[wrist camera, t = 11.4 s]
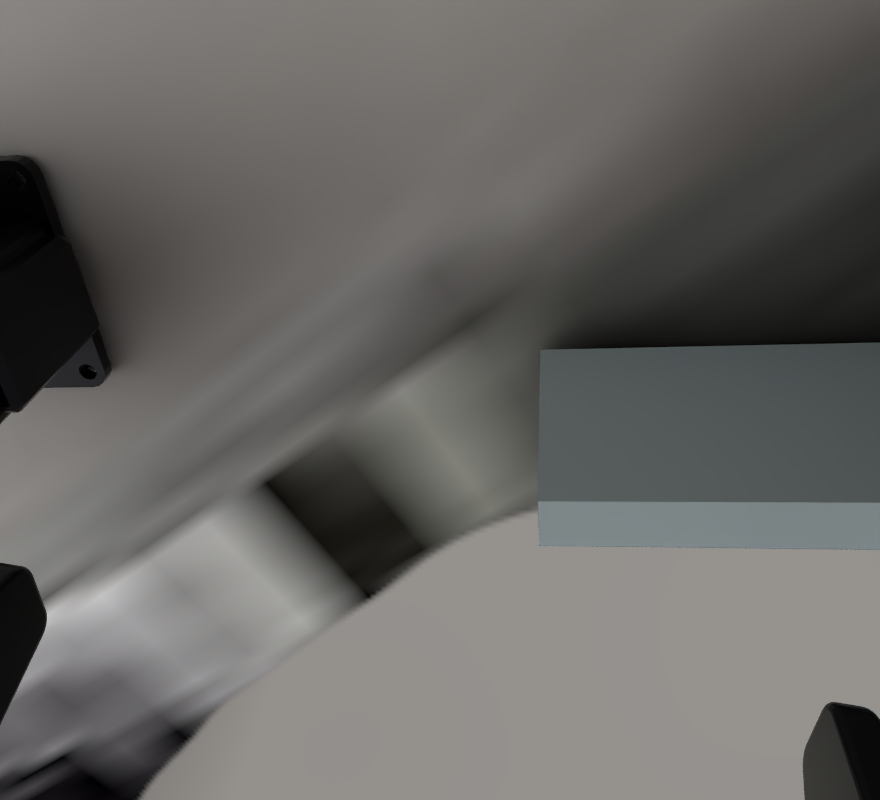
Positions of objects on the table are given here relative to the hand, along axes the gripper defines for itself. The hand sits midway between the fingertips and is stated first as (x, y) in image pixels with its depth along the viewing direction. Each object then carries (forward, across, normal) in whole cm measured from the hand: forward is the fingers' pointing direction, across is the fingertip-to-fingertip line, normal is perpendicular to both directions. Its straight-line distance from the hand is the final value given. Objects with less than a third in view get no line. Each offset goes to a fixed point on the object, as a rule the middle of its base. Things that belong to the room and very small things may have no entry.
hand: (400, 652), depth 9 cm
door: (+13, -7, +3) cm, 15 cm away
